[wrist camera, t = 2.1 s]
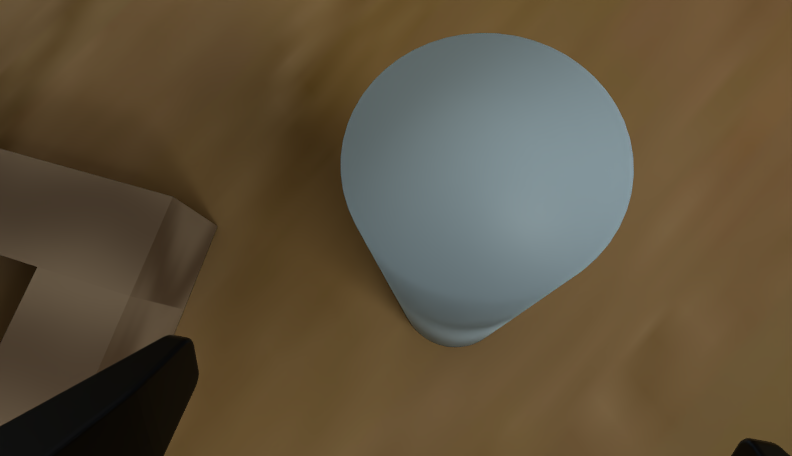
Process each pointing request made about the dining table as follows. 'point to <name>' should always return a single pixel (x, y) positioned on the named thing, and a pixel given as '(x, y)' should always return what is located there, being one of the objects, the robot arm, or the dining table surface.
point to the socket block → (88, 274)
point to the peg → (484, 179)
